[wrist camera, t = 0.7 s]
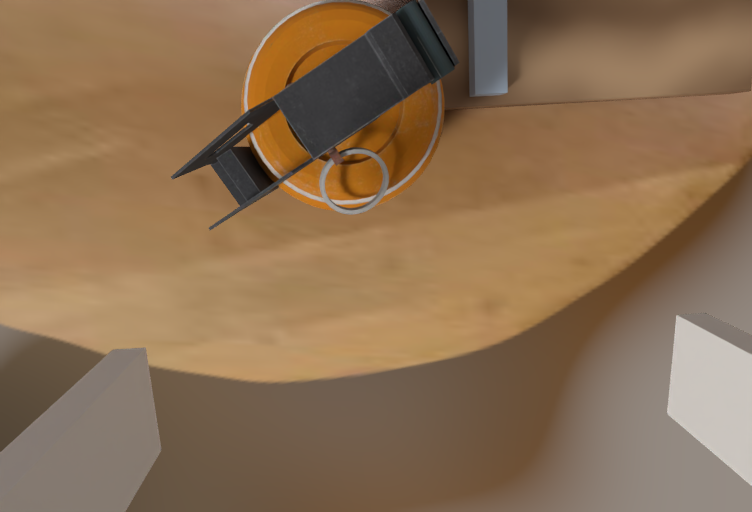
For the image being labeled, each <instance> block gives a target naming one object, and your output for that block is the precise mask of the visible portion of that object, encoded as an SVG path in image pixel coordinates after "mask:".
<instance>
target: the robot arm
mask: <svg viewBox="0 0 752 512" xmlns="http://www.w3.org/2000/svg"><path fill="white" fill-rule="evenodd" d="M667 411H668V412H667V414H668V415H669V416H670V417H672V418H673V419H674V420H675V421H677V423H679V424H680V425H681V426H682V427H683V428H685V429H686V430H687V431H688V432H689V433H690V434H691V435H693V436H694V437H695V438H696V439H697V440H699V441H700V442H701V443H702V444H703V445H704V446H706V447H707V448H708V449H709V450H711V452H713V453H714V454H715V455H716V456H717V457H719V458H720V459H721V460H722V461H723V462H725V463H726V464H727V465H728V466H729V467H730V468H731V469H733V470H734V471H735V472H736V473H737V474H738V475H740V476H741V477H742V478H743V479H744V480H745V481H747V482H748V483H749V484H750V485H751V486H752V335H750V334H748V333H746V332H744V331H742V330H740V329H738V328H736V327H734V326H732V325H729V324H728V323H726V322H723V321H721V320H719V319H717V318H715V317H713V316H711V315H709V314H707V313H700V314H683V315H677V316H676V327H675V338H674V348H673V358H672V368H671V379H670V389H669V400H668V410H667ZM160 451H161V445H160V438H159V432H158V425H157V419H156V412H155V405H154V400H153V393H152V386H151V380H150V373H149V366H148V360H147V353H146V348H132V349H116V350H112V351H111V352H110V353H109V354H108V355H107V356H105V357H104V358H103V359H102V360H101V361H100V362H99V363H98V364H97V365H96V366H95V367H93V368H92V369H91V370H90V371H89V372H88V373H87V374H86V375H85V376H84V377H83V378H81V380H79V381H78V382H77V383H76V384H75V385H74V386H73V387H72V388H70V389H69V390H68V391H67V392H66V393H65V394H64V395H63V396H62V397H61V398H60V399H59V400H57V401H56V402H55V403H54V404H53V405H52V406H51V407H50V408H49V409H48V410H46V411H45V412H44V413H43V414H42V415H41V416H40V417H39V418H38V419H37V420H35V421H34V422H33V423H32V424H31V425H30V426H29V427H28V428H27V429H26V430H24V431H23V432H22V433H21V434H20V435H19V436H18V437H17V438H16V439H15V440H14V441H12V442H11V443H10V444H9V445H8V446H7V447H6V448H5V449H4V450H3V451H2V452H0V512H125V511H126V509H127V508H128V506H129V504H130V502H131V501H132V499H133V497H134V496H135V494H136V492H137V490H138V489H139V487H140V485H141V483H142V482H143V480H144V478H145V477H146V475H147V473H148V472H149V470H150V468H151V467H152V465H153V463H154V461H155V460H156V458H157V456H158V455H159V453H160Z"/></svg>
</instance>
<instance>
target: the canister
mask: <svg viewBox="0 0 752 512" xmlns="http://www.w3.org/2000/svg"><path fill="white" fill-rule="evenodd" d="M458 63H460V62H459V60H458V59H457V57H456V55H455V54H454V52H453V50H452V48H451V47H450V45H449V43H448V41H447V40H446V38H445V36H444V34H443V33H442V31H441V29H440V27H439V26H438V24H437V22H436V20H435V19H434V17H433V15H432V13H431V12H430V10H429V8H428V6H427V5H426V3H425V1H424V0H419V1H418V3H417V2H416V0H413V1H411V2H409V3H407V4H406V5H404V6H403V7H402V8H400V9H399V10H398V11H397V12H396V13H393V14H392V13H390V12H388V11H387V10H385V9H383V8H381V7H379V6H376V5H373V4H370V3H367V2H363V1H357V0H325V1H320V2H315V3H312V4H310V5H307V6H304V7H302V8H300V9H298V10H296V11H294V12H293V13H291V14H289V15H287V16H286V17H285V18H284V19H282V20H281V21H280V22H279V23H278V24H276V25H275V26H274V27H273V28H272V29H271V31H270V32H269V33H268V34H267V35H266V36H265V37H264V39H263V40H262V41H261V43H260V44H259V46H258V48H257V49H256V51H255V53H254V54H253V56H252V58H251V61H250V63H249V66H248V68H247V71H246V75H245V79H244V83H243V87H242V100H241V108H242V116H241V117H240V118H239V119H238V120H236V121H235V122H234V123H233V124H232V125H231V126H229V127H228V128H227V129H226V130H225V131H224V132H222V133H221V134H220V135H219V136H218V137H217V138H216V139H214V140H213V141H212V142H211V143H210V144H209V145H207V146H206V147H205V148H204V149H203V150H202V151H200V152H199V153H198V154H197V155H196V156H195V157H193V158H192V159H191V160H190V161H189V162H188V163H187V164H185V165H184V166H183V167H182V168H181V169H180V170H178V171H177V172H176V173H175V174H174V175H173V176H171V178H172V179H175V178H177V177H179V176H182V175H184V174H186V173H189V172H191V171H194V170H196V169H198V168H201V167H203V166H205V165H209V164H211V166H212V167H213V169H214V170H215V172H216V173H217V174H218V176H219V177H220V179H221V180H222V181H223V183H224V184H225V185H226V187H227V188H228V190H229V191H230V192H231V194H232V195H233V197H234V198H235V199H236V201H237V202H238V204H239V205H240V207H238V208H237V209H235V210H234V211H233V212H231V213H230V214H228V215H227V216H225V217H224V218H222V219H221V220H220V221H218V222H217V223H215V224H214V225H212V226H211V227H209V229H210V230H211V229H213V228H214V227H216V226H218V225H219V224H221V223H222V222H224V221H225V220H227V219H228V218H230V217H232V216H233V215H235V214H236V213H238V212H239V211H241V210H243V209H244V208H246V207H248V206H249V205H251V204H252V203H254V202H256V201H257V200H259V199H261V198H262V197H264V196H266V195H268V194H269V193H271V192H272V191H274V190H275V189H277V188H278V187H280V188H281V189H282V190H284V191H285V192H287V193H288V194H290V195H291V196H293V197H294V198H296V199H298V200H300V201H302V202H305V203H307V204H309V205H312V206H315V207H319V208H322V209H327V210H335V211H337V212H340V213H344V214H358V213H362V212H365V211H367V210H369V209H371V208H372V207H374V206H377V205H380V204H383V203H385V202H387V201H389V200H391V199H393V198H394V197H396V196H398V195H399V194H401V193H402V192H403V191H405V190H406V189H407V188H408V187H410V186H411V185H412V184H413V183H414V182H415V181H416V180H417V179H418V178H419V176H420V175H421V174H422V173H423V171H424V170H425V169H426V167H427V166H428V164H429V163H430V161H431V159H432V157H433V155H434V153H435V151H436V149H437V146H438V143H439V140H440V137H441V134H442V129H443V122H444V93H443V86H442V82H441V78H443V77H444V76H446V75H447V74H449V73H450V72H451V71H453V70H454V69H455V68H454V66H456V65H457V64H458ZM242 127H244V129H242V130H241V131H240V132H239V133H237V132H238V131H239V130H240V129H241V128H242ZM235 133H237V134H236V135H235V136H234V137H232V136H233V135H234V134H235ZM231 137H232V138H231ZM245 137H246V138H247V140H248V143H249V145H250V147H233V146H235V145H236V144H237V143H238V142H240V141H241V140H242V139H243V138H245ZM229 138H231V139H230V140H229V141H227V140H228V139H229ZM226 141H227V142H226ZM225 142H226V143H225ZM224 143H225V144H224ZM222 144H224V145H222ZM221 145H222V146H221ZM220 146H221V147H220ZM219 147H220V148H219ZM218 148H219V149H218ZM215 150H216V151H215ZM214 151H215V152H214Z"/></svg>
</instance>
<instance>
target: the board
mask: <svg viewBox="0 0 752 512" xmlns="http://www.w3.org/2000/svg"><path fill="white" fill-rule="evenodd" d="M418 1H419V0H416V2H417V3H418ZM424 1H425V3H426V5H427V6H428V8H429V10H430V12H431V13H432V15H433V17H434V19H435V20H436V22H437V24H438V26H439V27H440V29H441V31H442V33H443V34H444V36H445V38H446V40H447V41H448V43H449V45H450V47H451V48H452V50H453V52H454V54H455V55H456V57H457V59H458V60H459V62H460V63H458V64H457V65H456V66H454V68H455V69H454V70H453V71H451V72H450V73H449V74H447V75H446V76H444V77H443V78H441V82H442V86H443V93H444V110H456V109H473V108H491V107H509V106H526V105H544V104H561V103H579V102H597V101H614V100H632V99H649V98H667V97H685V96H702V95H720V94H732V93H740V92H747V91H751V85H752V0H507V82H508V93H505V94H502V95H494V96H476V97H470V94H469V41H468V0H424Z"/></svg>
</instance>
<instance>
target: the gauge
mask: <svg viewBox="0 0 752 512" xmlns="http://www.w3.org/2000/svg"><path fill="white" fill-rule="evenodd" d="M468 41H469V94H470V97H476V96H494V95H502V94H505V93H508V82H507V0H468Z"/></svg>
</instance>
